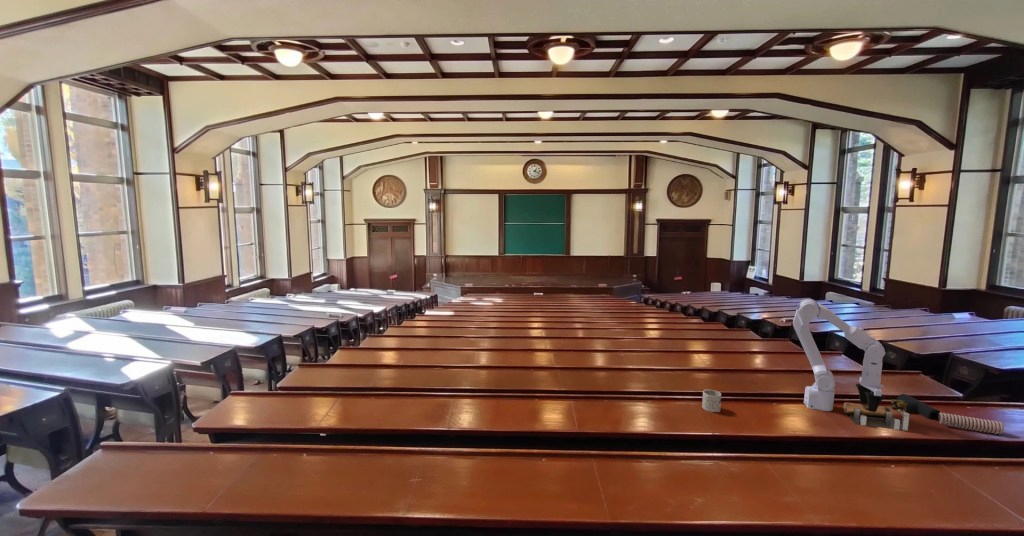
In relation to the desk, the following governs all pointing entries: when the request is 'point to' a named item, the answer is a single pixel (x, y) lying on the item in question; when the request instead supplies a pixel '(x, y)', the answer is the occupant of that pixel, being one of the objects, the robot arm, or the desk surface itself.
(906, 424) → the aperture bracket
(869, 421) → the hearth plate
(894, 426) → the small blocks
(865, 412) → the tube
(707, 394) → the mug
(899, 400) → the pipe connector
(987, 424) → the coil
